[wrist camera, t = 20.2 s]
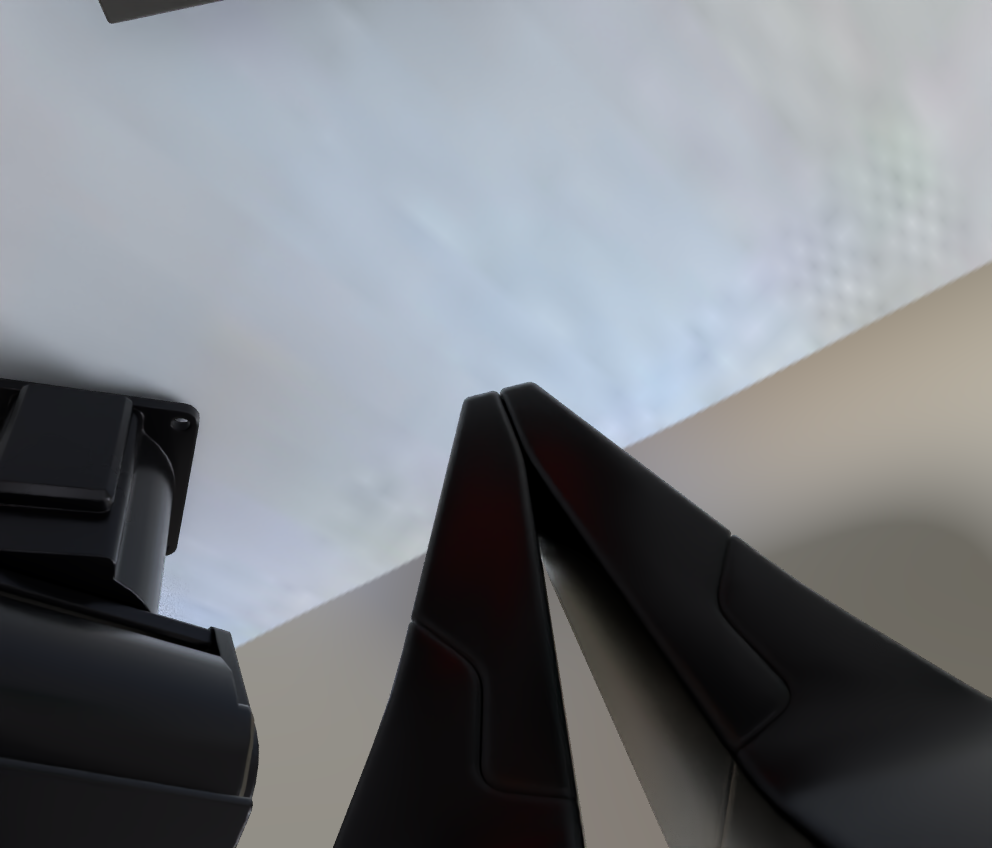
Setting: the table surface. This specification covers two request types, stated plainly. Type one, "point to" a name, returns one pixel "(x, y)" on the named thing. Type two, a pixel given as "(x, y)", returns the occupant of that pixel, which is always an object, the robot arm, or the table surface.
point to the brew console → (144, 8)
